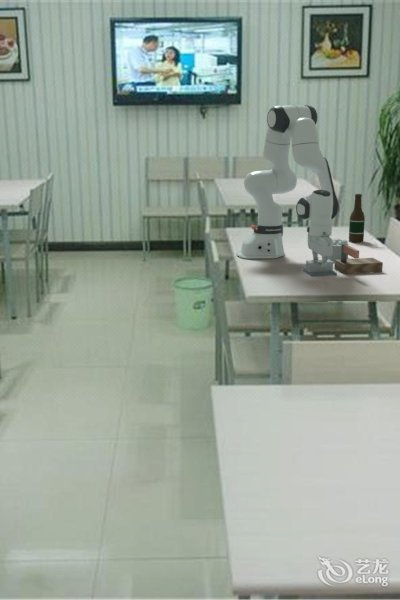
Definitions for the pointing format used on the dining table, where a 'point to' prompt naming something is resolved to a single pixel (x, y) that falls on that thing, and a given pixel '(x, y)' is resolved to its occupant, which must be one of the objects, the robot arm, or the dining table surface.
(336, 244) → the paw pad
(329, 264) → the grey-blue rectangular block
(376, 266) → the body
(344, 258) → the cam lever
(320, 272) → the pad
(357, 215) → the beer bottle
